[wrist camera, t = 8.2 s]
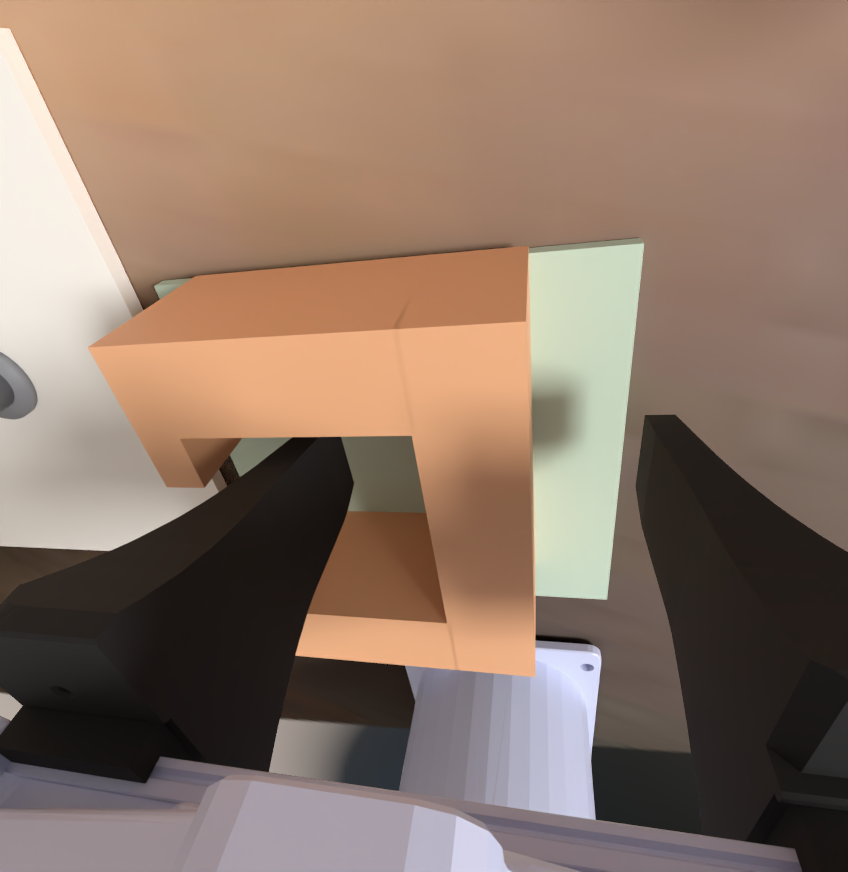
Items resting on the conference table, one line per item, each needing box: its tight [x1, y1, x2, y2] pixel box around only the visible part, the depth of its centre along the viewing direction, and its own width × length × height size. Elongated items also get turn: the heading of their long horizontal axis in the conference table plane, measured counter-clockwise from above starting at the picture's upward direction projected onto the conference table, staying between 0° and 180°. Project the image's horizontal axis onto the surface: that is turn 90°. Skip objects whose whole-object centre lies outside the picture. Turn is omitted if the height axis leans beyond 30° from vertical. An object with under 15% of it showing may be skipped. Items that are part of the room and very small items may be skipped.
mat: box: [154, 238, 644, 600], centre depth 16 cm, size 12×12×1 cm
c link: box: [88, 246, 535, 677], centre depth 14 cm, size 8×10×4 cm
